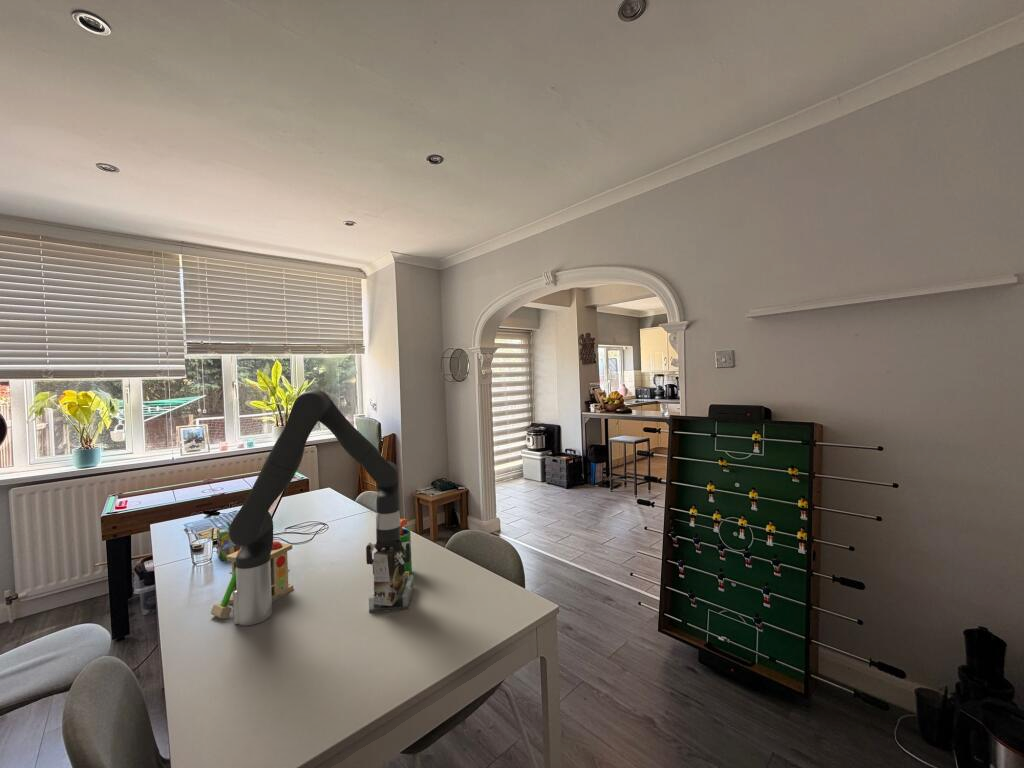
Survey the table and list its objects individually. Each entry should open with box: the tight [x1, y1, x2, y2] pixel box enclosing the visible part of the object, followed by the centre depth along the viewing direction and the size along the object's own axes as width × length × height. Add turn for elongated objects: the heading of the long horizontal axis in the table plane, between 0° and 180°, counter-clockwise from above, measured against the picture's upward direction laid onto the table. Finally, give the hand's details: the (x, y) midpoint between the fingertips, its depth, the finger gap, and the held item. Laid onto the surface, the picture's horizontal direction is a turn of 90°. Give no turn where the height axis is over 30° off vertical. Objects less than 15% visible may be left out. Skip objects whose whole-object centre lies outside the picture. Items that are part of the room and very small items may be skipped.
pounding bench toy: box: [210, 541, 294, 620], centre depth 140 cm, size 23×14×18 cm, turn 161°
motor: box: [400, 518, 413, 575], centre depth 159 cm, size 10×9×20 cm
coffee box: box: [373, 546, 405, 606], centre depth 136 cm, size 9×6×16 cm
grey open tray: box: [368, 571, 415, 613], centre depth 140 cm, size 12×14×6 cm
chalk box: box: [216, 520, 242, 562], centre depth 180 cm, size 9×9×15 cm
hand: (389, 575), depth 136 cm, fingers closed on coffee box, 7 cm apart
